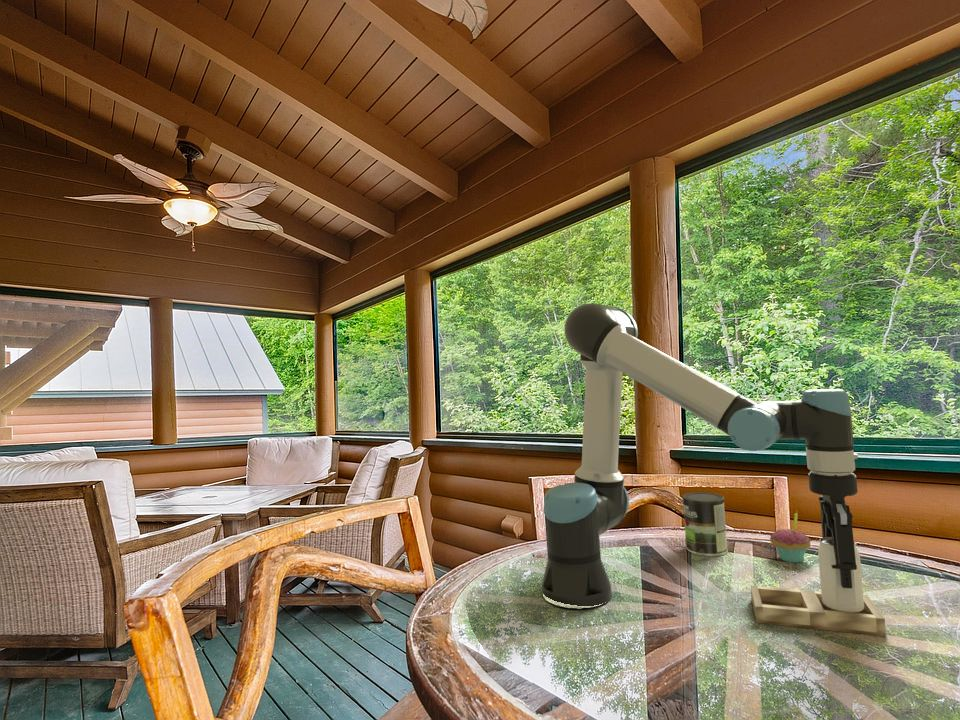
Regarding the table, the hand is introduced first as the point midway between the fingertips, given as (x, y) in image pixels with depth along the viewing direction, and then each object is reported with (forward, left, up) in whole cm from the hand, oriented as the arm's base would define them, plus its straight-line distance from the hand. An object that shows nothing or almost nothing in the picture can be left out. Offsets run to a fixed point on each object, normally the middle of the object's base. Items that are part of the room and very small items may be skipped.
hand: (841, 596), depth 97 cm
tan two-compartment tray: (-5, 0, -4) cm, 7 cm away
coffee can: (-23, +35, -5) cm, 42 cm away
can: (0, 0, -2) cm, 2 cm away
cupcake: (-4, +32, -5) cm, 33 cm away
